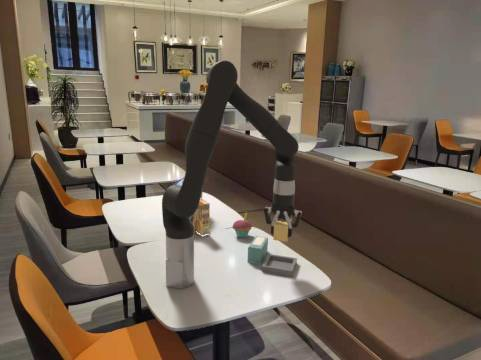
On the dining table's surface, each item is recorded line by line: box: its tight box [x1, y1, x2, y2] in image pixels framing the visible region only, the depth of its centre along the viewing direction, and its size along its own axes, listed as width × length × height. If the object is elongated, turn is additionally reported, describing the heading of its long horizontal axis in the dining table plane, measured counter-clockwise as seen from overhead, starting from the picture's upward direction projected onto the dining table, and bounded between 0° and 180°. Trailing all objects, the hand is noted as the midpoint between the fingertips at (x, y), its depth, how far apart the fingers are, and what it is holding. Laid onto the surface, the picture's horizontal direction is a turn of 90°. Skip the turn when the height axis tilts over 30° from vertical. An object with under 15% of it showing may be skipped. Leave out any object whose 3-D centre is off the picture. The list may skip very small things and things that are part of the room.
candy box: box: [192, 198, 211, 235], centre depth 168 cm, size 9×4×15 cm, turn 33°
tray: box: [261, 253, 298, 277], centre depth 140 cm, size 11×11×2 cm
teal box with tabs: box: [247, 235, 269, 265], centre depth 148 cm, size 12×5×6 cm, turn 163°
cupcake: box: [232, 211, 253, 238], centre depth 167 cm, size 9×8×12 cm
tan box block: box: [272, 220, 289, 243], centre depth 137 cm, size 4×5×6 cm
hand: (281, 235), depth 137 cm, fingers closed on tan box block, 5 cm apart
